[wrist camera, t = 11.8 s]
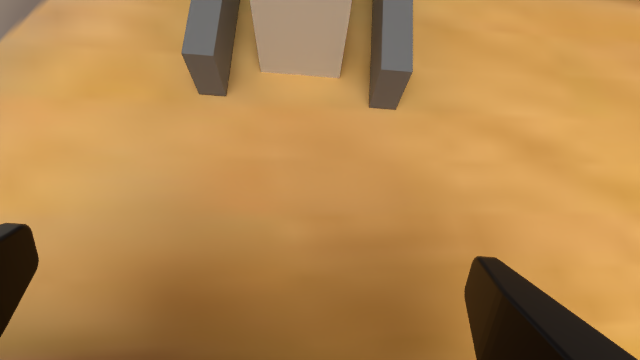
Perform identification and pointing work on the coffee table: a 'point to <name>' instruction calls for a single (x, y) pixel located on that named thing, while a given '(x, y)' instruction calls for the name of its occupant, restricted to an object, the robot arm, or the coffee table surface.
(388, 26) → the frame
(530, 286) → the robot arm
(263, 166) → the coffee table surface
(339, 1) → the white rectangular block
